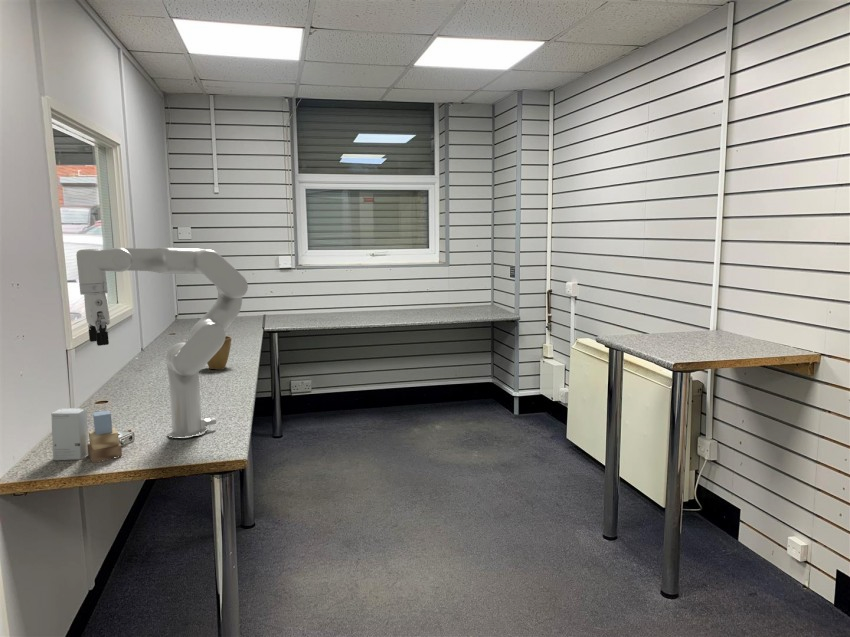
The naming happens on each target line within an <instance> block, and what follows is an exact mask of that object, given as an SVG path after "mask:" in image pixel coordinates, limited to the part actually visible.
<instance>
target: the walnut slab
mask: <svg viewBox="0 0 850 637" xmlns="http://www.w3.org/2000/svg"><path fill="white" fill-rule="evenodd" d="M87 446H88V454H87V455H88V458H89V459H90V461H91V462H92V463H93V464H94V463H100V462H103V461H102V460H105V461H108V460H107V459H109V460H111V459H110V458H114V457H118V456H122V457H123V452H122V451H123V450H122V444H121V443H120V442H119V445H118V446H113V447H108V448H102V449H97V450H93V449H92V447H91V445H90V443H88V444H87ZM114 459H115V458H114ZM99 461H100V462H99Z"/></svg>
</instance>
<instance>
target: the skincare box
mask: <svg viewBox="0 0 850 637" xmlns="http://www.w3.org/2000/svg"><path fill="white" fill-rule="evenodd" d="M88 428H89V426H88V409H87V408H75V407H73V408H59V409H57V410H55V411H53V412H51V436H52V440H51V441H52V459H53V461H67V460H69V461H70V460H71V461H72V460H74V461H75V460H77V461H78V460H82V459H83V458H84V457H86V456H87V455H88V446H87V444H89V431H88V430H89V429H88Z"/></svg>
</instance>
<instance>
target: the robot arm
mask: <svg viewBox="0 0 850 637" xmlns="http://www.w3.org/2000/svg"><path fill="white" fill-rule="evenodd" d="M75 255H76V265H77V273H78V274H77V275H78V282H79V283H78V284H79V286H78V287H79V294H80V295H81V296H82V295H83V296H84V297H83V298H84V300H83V301H84V311H85V319H86V322H87V324H88V336H89V342H92V343H94V342H96V346H98V347H100V346H107V345H109V343H110V342H109V332H108V328H107V326H108V325H110V324H111V319H110V317H111V316H110V312H109V311H110V310H109V306H108V300H107V299H108V298H107V296H106V294H108V291H109V290H108V282H107V281H108V280H107V272H115V273H123V272H127V271H129V272H130V271H131V272H132V271H133V272H134V271H139V272H141V271H142V272H150V273H151V272H152V273H158V274H163V275H164V274H166V275H203V276H205V278H207V279H208V280H209V281H210V282H211V283H212V284H213V285H214V286H216V290H217V298H216V301H215V302H214V304H213V305H212V306H211V308H209V310H208V311H207V312H206V313H205V314H204V315H203V316H202V317H201V318H200V319H199V320H198V321H197V322H196V323H195V324H194V325H193V326H192V329H191V331H190V336H191V337H190V338H189V339H188V340H187V341H186V342H184V341H183V342H176V343H175V344H173V345H171V347H170V348H169V349H168V350H167V352H166V367H167V376H168V382H169V384H168V386H169V400H170V402H169V403H170V412H171V413H170V416H171V429H170V430H168V431H167V436H168V435H169V436H172V437H185V436H192V435H196V434H199V432H200V433H202V432H204V431H205V430H206V429H207V430H208V426H211V425H216V424H217V420H216V418H209V417H208V418H203V417H202V406H201V390H200V388H201V387H200V385H201V384H200V374H199V372H200V371H201V370H202V369H203V368H204V367H205V366H206V365H208V364H207V362H208V361H209V360H210V359H211V358H212V357H213V356H214V355H215V354H216V353H217V352H218V351H219V349H220V348H221V347H222V345H223V344H224V341H225V337H226V336H227V335H226V332H225V331H226V330H227V329H228V328H229V327H230V325H231V324H232V323H233V322H234V320H236V319H237V316H238V315H239V313H240V311H241V308H242V305H243V297H244V296H245V295H246V293H247V292H248V288H249V285H248V281H247V280H246V278H245V276H244V275H242V274H241V273H240V272H239V271H238V270H237V269H236V268H235V267H233V265H231V264H230V263H229V262H228V261H227V260H226V259H225V258H224V257H223V256H222V255H221V254H219V253H218V252H217V251H216V250H212V249H205V248H181V247H180V248H178V247H156V248H142V247H141V248H135V247H119V246H118V247H112V248H110V249H109V248H108V249H99V248H85V249H84V248H83V249H79V250H77V251H76V254H75ZM206 427H207V428H206Z"/></svg>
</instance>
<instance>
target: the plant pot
mask: <svg viewBox="0 0 850 637" xmlns="http://www.w3.org/2000/svg"><path fill="white" fill-rule="evenodd" d="M231 346H232V336H228V335H226V337H225V341H224V344H223V345H222V347H221V348H220V349H219V351H218V352H217V353H216V354H215V355H214V356H213V357H212V358H211V359H210V360H209V361H208V362H207V364H206V365H207V366H208V368H209V370H211V369H220V370H224V369H225V368H226V365H227V362H228V359H229V357H230V356H229V355H230V350H231ZM223 368H224V369H223Z"/></svg>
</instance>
